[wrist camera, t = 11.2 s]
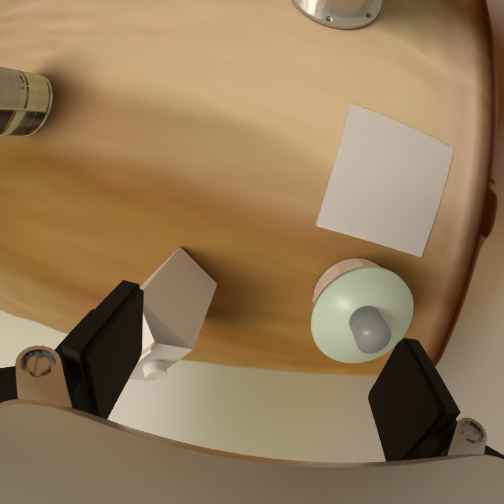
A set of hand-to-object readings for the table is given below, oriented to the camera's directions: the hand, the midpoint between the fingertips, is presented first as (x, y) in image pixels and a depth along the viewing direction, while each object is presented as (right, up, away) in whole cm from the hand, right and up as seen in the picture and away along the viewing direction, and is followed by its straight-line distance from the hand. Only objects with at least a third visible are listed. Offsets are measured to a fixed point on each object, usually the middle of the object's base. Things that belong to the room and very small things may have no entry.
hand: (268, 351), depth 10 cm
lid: (+13, -4, +25) cm, 28 cm away
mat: (+17, +12, +25) cm, 33 cm away
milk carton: (-10, 0, +31) cm, 33 cm away
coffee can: (-35, +26, +24) cm, 50 cm away
